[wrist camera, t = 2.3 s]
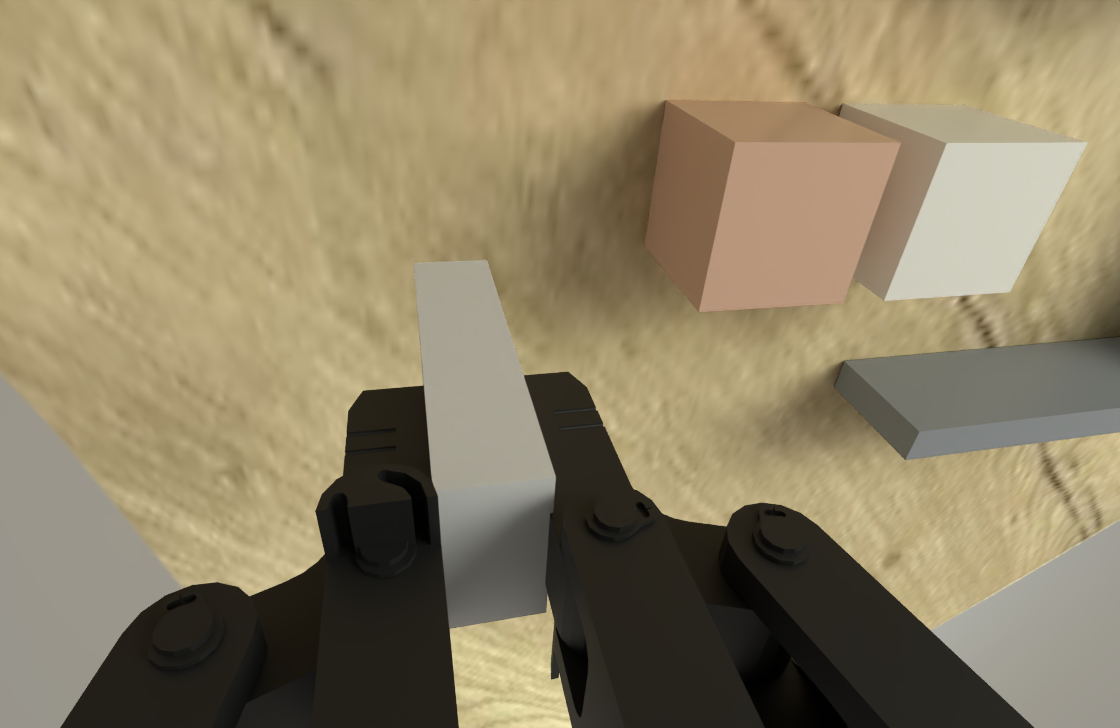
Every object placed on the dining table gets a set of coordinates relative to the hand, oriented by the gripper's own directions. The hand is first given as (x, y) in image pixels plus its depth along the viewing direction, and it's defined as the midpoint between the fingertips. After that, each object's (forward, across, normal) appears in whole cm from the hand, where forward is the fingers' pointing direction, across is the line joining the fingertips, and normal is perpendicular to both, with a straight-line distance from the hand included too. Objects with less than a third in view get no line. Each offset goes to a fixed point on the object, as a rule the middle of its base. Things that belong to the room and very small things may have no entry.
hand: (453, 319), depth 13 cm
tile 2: (+8, +16, 0) cm, 18 cm away
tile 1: (+8, +10, 0) cm, 13 cm away
